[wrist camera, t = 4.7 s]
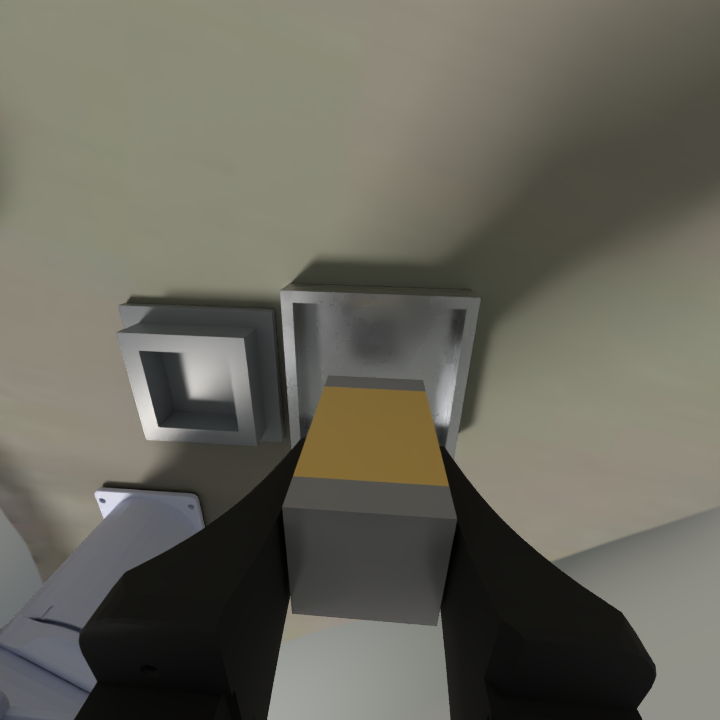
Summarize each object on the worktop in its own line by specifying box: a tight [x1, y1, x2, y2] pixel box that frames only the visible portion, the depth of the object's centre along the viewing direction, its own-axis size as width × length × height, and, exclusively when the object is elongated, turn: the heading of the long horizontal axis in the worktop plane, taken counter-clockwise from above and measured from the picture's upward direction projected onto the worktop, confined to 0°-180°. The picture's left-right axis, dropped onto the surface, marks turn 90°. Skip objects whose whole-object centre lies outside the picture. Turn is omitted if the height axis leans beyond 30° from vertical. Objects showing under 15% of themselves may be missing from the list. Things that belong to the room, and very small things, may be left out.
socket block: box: [116, 303, 285, 446], centre depth 20 cm, size 9×9×2 cm
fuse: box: [282, 375, 457, 626], centre depth 12 cm, size 4×4×7 cm
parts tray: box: [280, 283, 481, 460], centre depth 19 cm, size 10×10×2 cm
